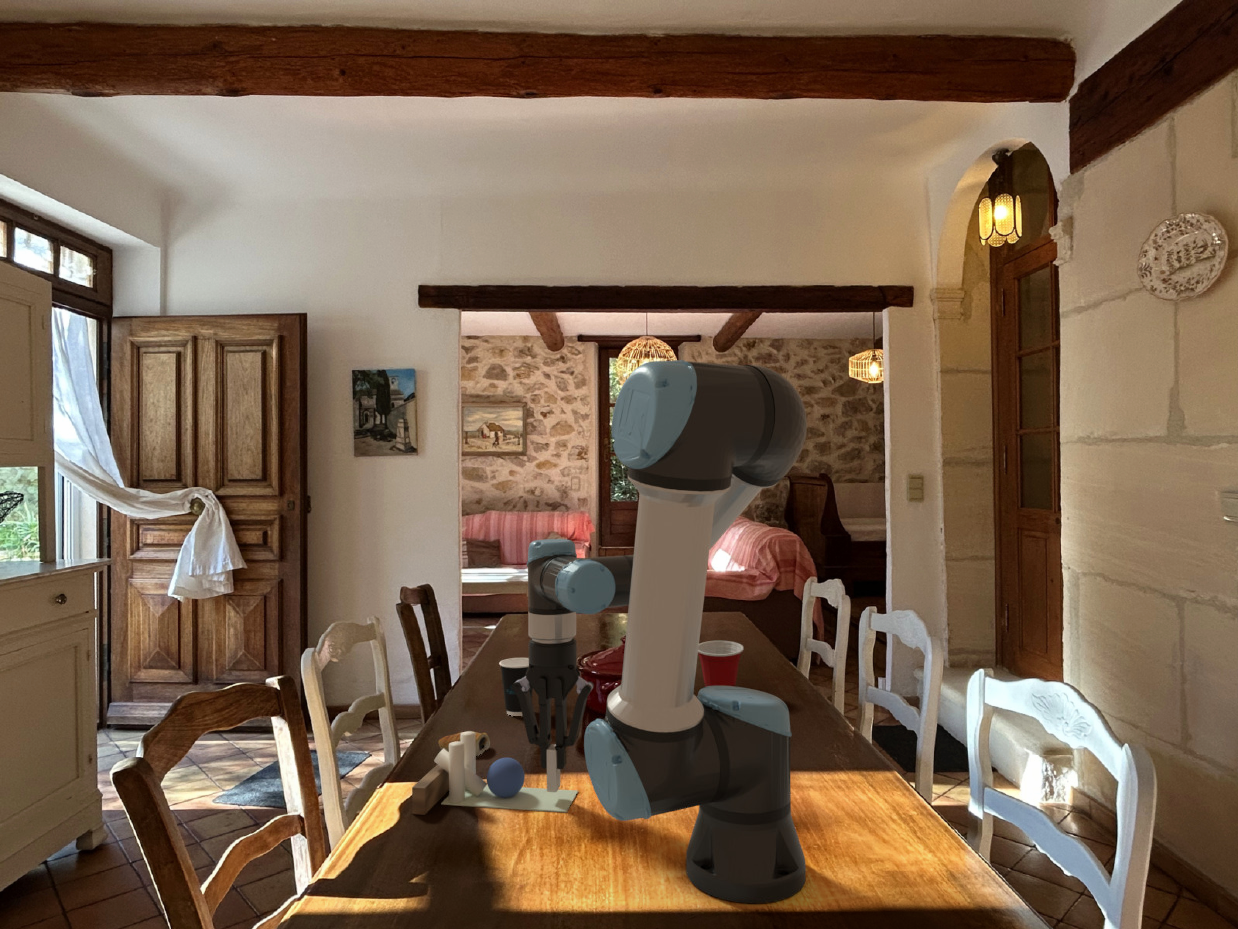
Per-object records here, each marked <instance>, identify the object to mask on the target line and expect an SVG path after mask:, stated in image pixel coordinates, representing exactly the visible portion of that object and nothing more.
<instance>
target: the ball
mask: <svg viewBox="0 0 1238 929" xmlns="http://www.w3.org/2000/svg"><path fill="white" fill-rule="evenodd" d="M486 783H487V785H488V787H489V789H490V791H491V792H492V793H493V794H494V795H496V796H498V797H501V798H509V797H512V796H514V795H515V794H517V793H518V792H519V791H520V790H521V788H522V787H523V785H524V783H525V771H524V768H523V765H522V764H521V763H520V762H519V761H518V760H516V759H515V758H512V757H502V758H499V759H497V760H495V761H494V762H493V763H492V764H490V766H489V768H488V771H487V773H486Z"/></svg>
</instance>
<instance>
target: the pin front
mask: <svg viewBox="0 0 1238 929" xmlns="http://www.w3.org/2000/svg"><path fill="white" fill-rule="evenodd" d="M433 761H434V763H436V765H437V764H438V765H439V766H440V767H442V768H443V769H444V770H445V771H447V772H448V773H449V752H448V751H446V750H445V749H444V748H443V749H442V750H441V749H440V751H439V753H437V755H436V756H435V758H434V759H433ZM486 785H487V781H485V780H483V779H482V778H481V777H480V776H479V775H478V774H475V773H474V772H472V771H471V770H470V769H469V768H467V767H466V766H465V787H466V788H467V789H469V790H470V791H471V792H472V793H474V794H475V795H476V796H477V797H478V796H479V794H480V793H481V792H482V791H483V789H484V788H485V787H486Z"/></svg>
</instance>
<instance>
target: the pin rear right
mask: <svg viewBox="0 0 1238 929" xmlns="http://www.w3.org/2000/svg"><path fill="white" fill-rule="evenodd" d="M448 791H449V792H448V796H449V801H450V802H451V803H461V802H463V801H464V800H465V758H464V742H460V741H456V742H451V743H449V790H448Z"/></svg>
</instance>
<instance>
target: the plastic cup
mask: <svg viewBox="0 0 1238 929" xmlns="http://www.w3.org/2000/svg"><path fill="white" fill-rule="evenodd" d="M743 651H744V645H743V644H741V643H739V642H736V641H731V640H730V641H729V640H709V641H705V642H704V641H703V642H701V643H700V642H699V647H698V657H699V662H700V666H701V672H702V678H703V684H704V687H707V686H734V687H736V684H737V679H738V671H739V665H740V664H739V663H740V660H741V659H740V658H741V655H742V652H743Z"/></svg>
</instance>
